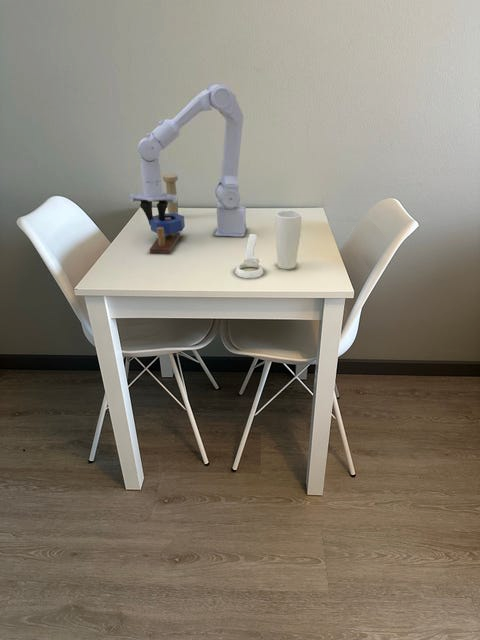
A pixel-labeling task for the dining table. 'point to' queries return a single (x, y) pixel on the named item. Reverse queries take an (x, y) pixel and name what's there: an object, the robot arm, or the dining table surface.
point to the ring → (168, 223)
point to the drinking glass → (287, 237)
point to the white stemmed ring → (250, 260)
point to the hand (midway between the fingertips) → (156, 224)
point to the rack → (165, 241)
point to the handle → (171, 191)
